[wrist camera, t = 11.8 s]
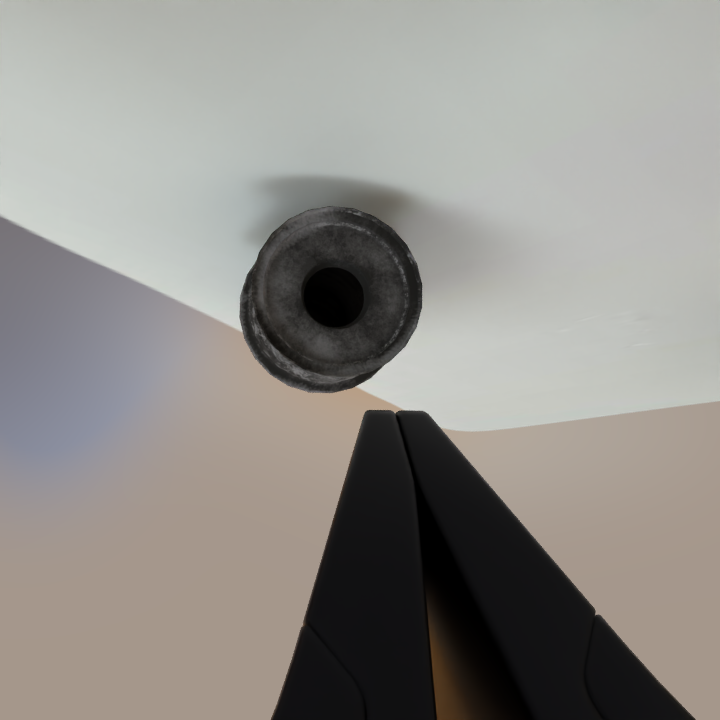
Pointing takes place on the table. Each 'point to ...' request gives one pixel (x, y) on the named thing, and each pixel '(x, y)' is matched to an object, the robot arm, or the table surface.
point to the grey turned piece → (330, 299)
